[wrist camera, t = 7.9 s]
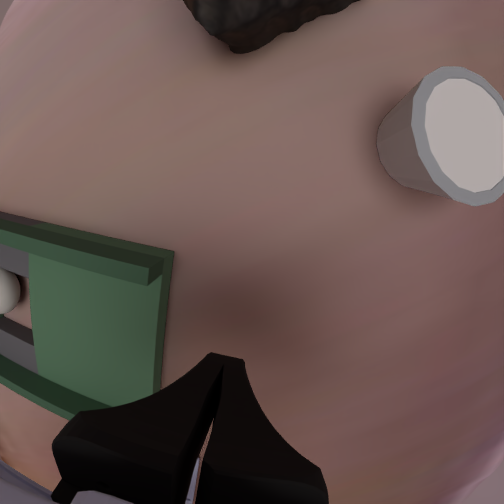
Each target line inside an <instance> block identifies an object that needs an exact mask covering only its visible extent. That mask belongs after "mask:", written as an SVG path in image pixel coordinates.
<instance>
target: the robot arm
mask: <svg viewBox="0 0 504 504" xmlns="http://www.w3.org/2000/svg"><path fill="white" fill-rule="evenodd" d="M213 418H214V419H213ZM212 420H213V427H212V432H211V435H210V439H209V442H208V445H207V448H206V451H205V454H204V457H203V461H202V467H201V472H200V478H199V484H198V490H197V496H196V501H195V504H329V498H328V491H327V487H326V484H325V481H324V478H323V475H322V472H321V469H320V468H319V467H317V466H316V465H314V464H313V463H312V462H310V461H309V460H307V459H306V458H305V457H303V456H302V455H301V454H299V453H298V452H297V451H296V450H295V449H294V448H293V447H291V446H290V445H289V444H288V443H287V442H286V441H285V440H284V439H283V438H282V436H281V435H280V434H279V433H278V432H277V431H276V430H275V428H274V427H273V426H272V424H271V423H270V422H269V420H268V419H267V417H266V416H265V414H264V412H263V411H262V409H261V407H260V405H259V403H258V401H257V399H256V397H255V395H254V393H253V390H252V388H251V385H250V383H249V380H248V377H247V373H246V369H245V362H244V361H243V359H239V358H234V357H230V356H225V355H220V354H216V353H212V352H210V353H209V354H207V355H206V356H205V357H204V358H203V359H202V360H201V361H200V362H199V363H198V364H197V365H196V366H195V367H194V368H192V369H191V370H190V371H189V372H187V373H186V374H185V375H184V376H182V377H181V378H179V379H178V380H176V381H175V382H173V383H172V384H170V385H169V386H167V387H165V388H164V389H162V390H160V391H158V392H156V393H154V394H152V395H150V396H147V397H145V398H142V399H139V400H137V401H134V402H131V403H127V404H123V405H119V406H115V407H110V408H104V409H96V410H87V411H79V412H78V413H77V414H76V415H75V416H74V417H73V418H72V419H71V420H70V421H69V422H68V423H67V424H66V425H65V426H64V428H63V429H62V430H61V431H60V433H59V434H58V435H57V436H56V438H55V439H54V440H53V443H52V451H53V455H54V458H55V461H56V464H57V467H58V469H59V472H60V475H61V477H62V479H61V481H60V482H59V484H58V485H57V487H56V488H55V490H54V491H53V492H52V491H50V490H48V489H46V488H44V487H43V486H41V485H39V484H37V483H36V482H34V481H32V480H31V479H29V478H27V477H26V476H24V475H23V474H21V473H19V472H18V471H16V470H15V469H13V468H12V467H10V466H9V465H7V464H6V463H4V462H3V461H2V460H0V504H192V503H193V498H194V491H195V485H196V479H197V473H198V467H199V460H200V459H199V457H198V456H199V454H200V451H201V449H202V446H203V444H204V441H205V439H206V436H207V433H208V431H209V428H210V426H211V423H212Z"/></svg>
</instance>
